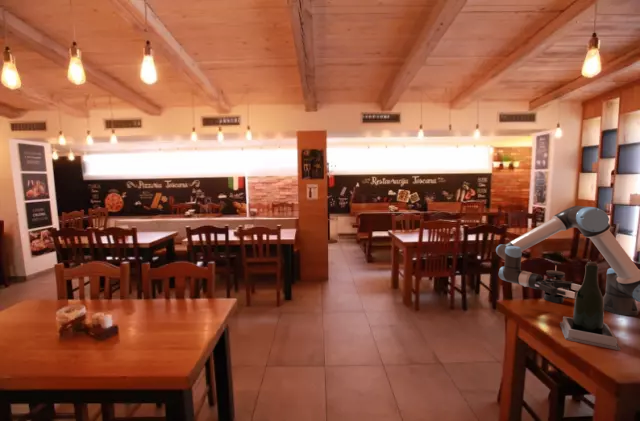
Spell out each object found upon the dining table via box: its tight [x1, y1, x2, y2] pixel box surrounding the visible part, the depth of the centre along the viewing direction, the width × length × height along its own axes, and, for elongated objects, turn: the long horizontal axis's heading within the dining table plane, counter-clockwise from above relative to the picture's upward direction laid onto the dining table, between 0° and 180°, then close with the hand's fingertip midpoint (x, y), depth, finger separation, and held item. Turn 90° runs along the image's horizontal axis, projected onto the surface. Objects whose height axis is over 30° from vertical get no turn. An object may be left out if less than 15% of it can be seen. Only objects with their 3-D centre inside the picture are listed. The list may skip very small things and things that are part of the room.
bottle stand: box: [559, 316, 621, 351], centre depth 142 cm, size 18×18×4 cm
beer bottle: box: [572, 261, 605, 335], centre depth 141 cm, size 10×10×33 cm
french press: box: [543, 261, 569, 304], centre depth 184 cm, size 12×9×23 cm
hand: (581, 292), depth 143 cm, fingers open, 13 cm apart
